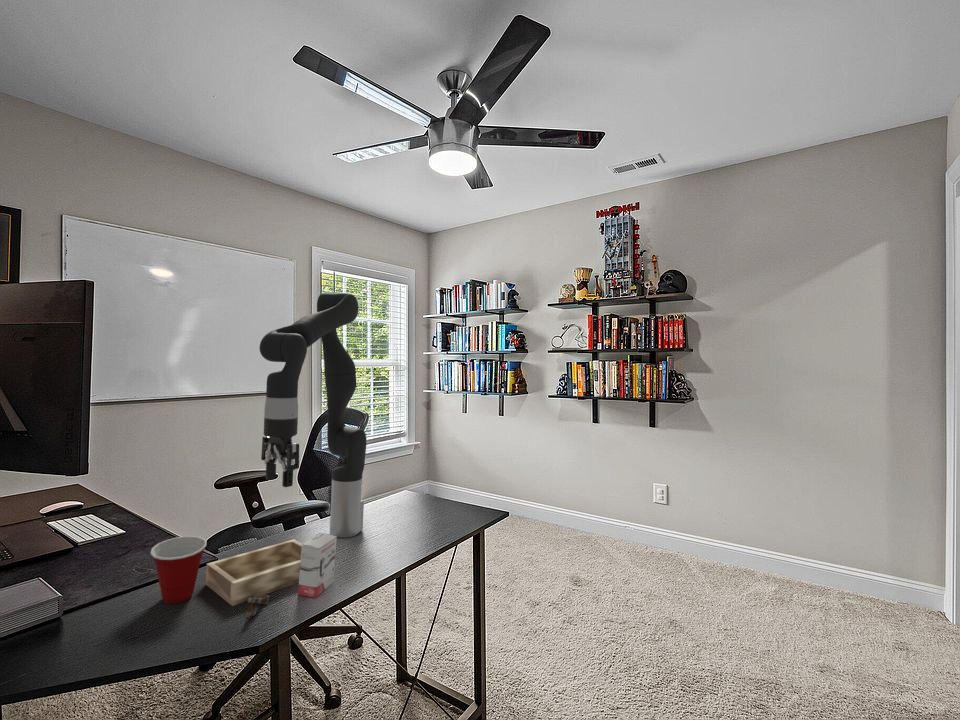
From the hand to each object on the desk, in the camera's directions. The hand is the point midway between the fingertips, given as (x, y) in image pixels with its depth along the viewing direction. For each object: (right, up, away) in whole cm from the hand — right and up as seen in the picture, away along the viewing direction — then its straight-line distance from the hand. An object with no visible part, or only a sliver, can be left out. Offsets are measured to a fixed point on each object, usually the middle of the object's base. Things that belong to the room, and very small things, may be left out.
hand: (278, 482), depth 117 cm
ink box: (+9, -26, -1) cm, 27 cm away
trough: (-4, -25, +3) cm, 25 cm away
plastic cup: (-20, -24, -8) cm, 32 cm away
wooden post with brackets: (0, -25, -12) cm, 28 cm away
